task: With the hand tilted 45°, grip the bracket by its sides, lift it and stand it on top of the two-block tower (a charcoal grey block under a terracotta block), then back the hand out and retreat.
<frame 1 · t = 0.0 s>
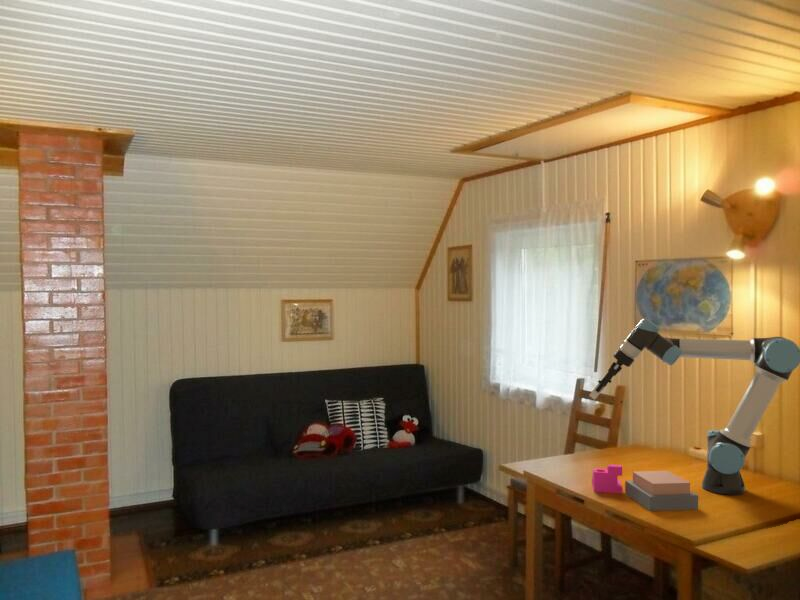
hand: (593, 395, 267), 36 cm above the table, tool tilted 35°, fingers open, 13 cm apart
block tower: (660, 501, 246), on the table
bracket: (606, 488, 263), on the table
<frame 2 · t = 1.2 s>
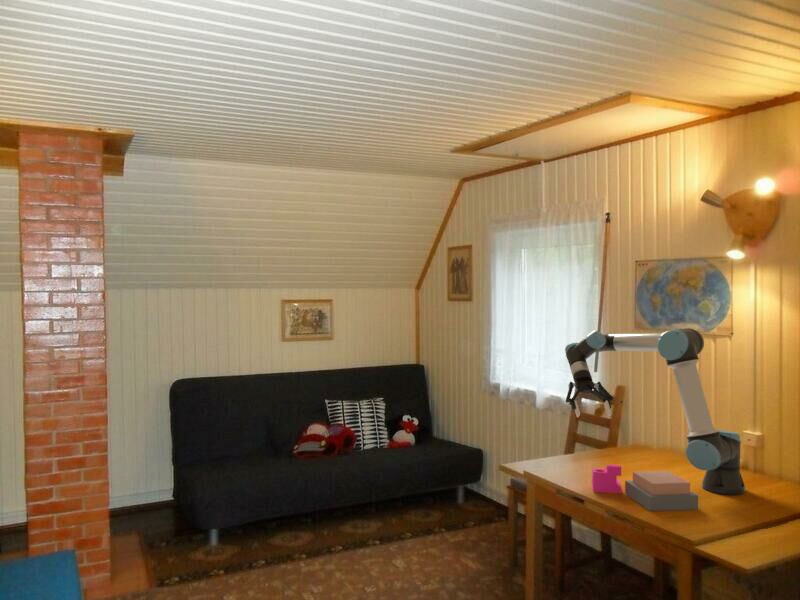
hand: (594, 415, 275), 26 cm above the table, tool tilted 45°, fingers open, 13 cm apart
nothing on the table moved.
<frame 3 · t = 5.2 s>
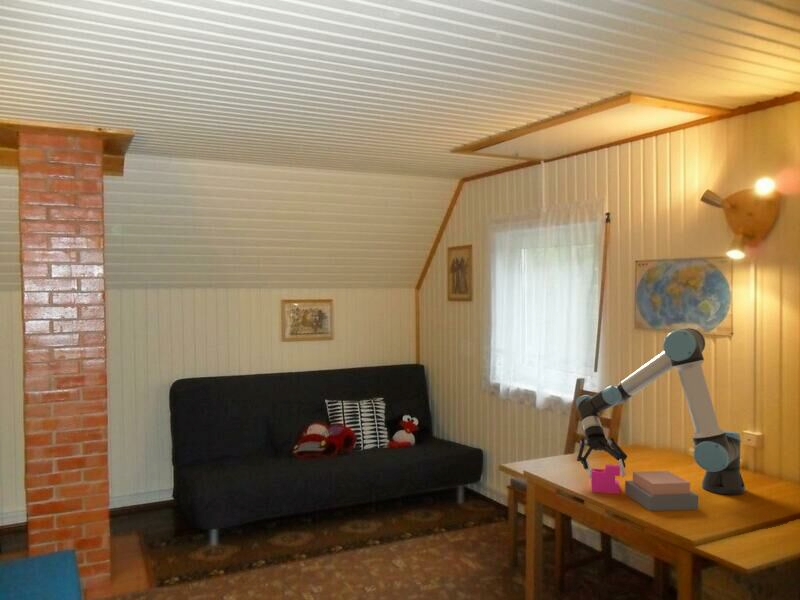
hand: (607, 475, 261), 5 cm above the table, tool tilted 45°, fingers open, 13 cm apart
nothing on the table moved.
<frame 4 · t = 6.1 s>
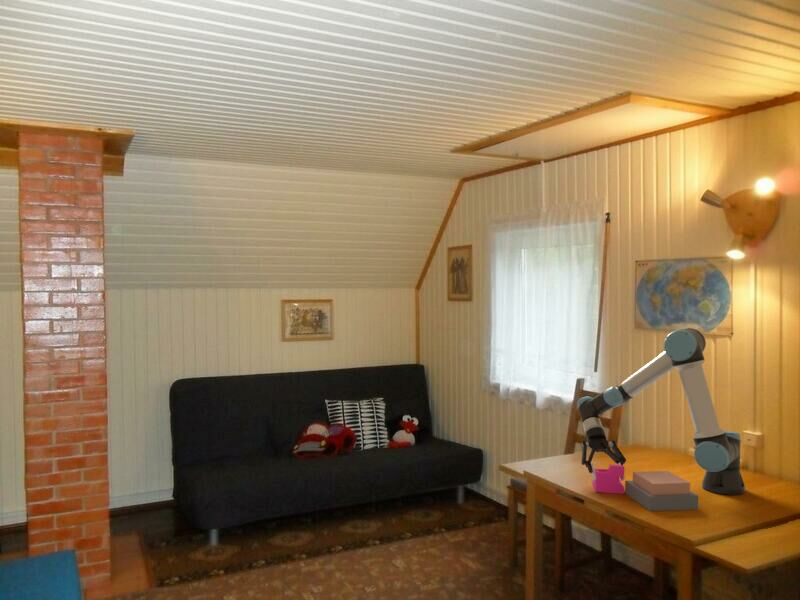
hand: (609, 479, 260), 4 cm above the table, tool tilted 45°, fingers closed on bracket, 10 cm apart
bracket: (607, 488, 262), on the table, touching gripper
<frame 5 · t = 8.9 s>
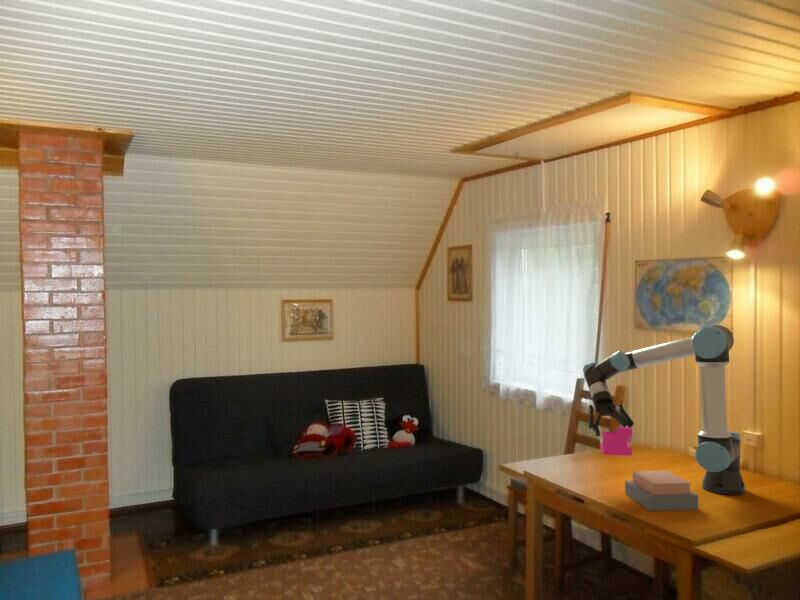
hand: (617, 442, 257), 19 cm above the table, tool tilted 45°, fingers closed on bracket, 10 cm apart
bracket: (615, 452, 259), point 15 cm above the table, touching gripper
when the fingers open (15 cm above the table, at t = 11.6 s): bracket drops 2 cm, resting on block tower.
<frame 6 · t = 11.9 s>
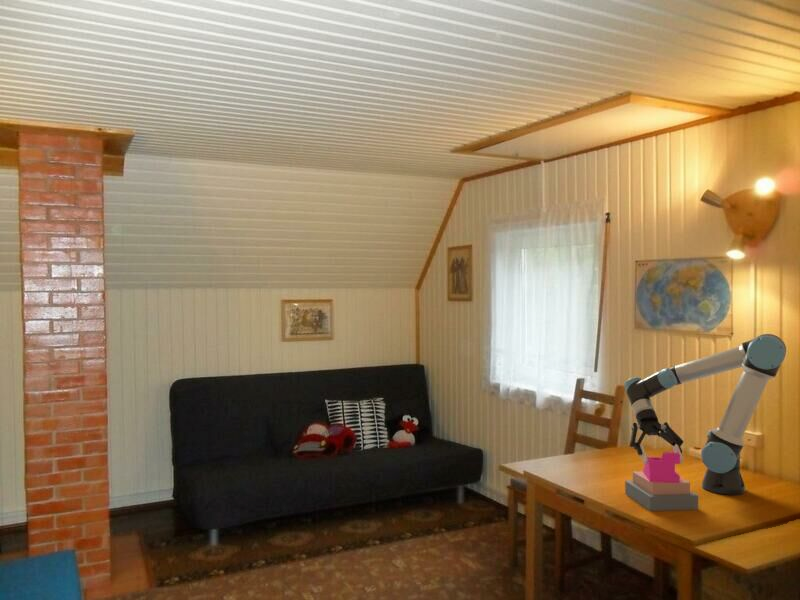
hand: (663, 462, 244), 15 cm above the table, tool tilted 45°, fingers open, 13 cm apart
bracket: (660, 478, 245), point 9 cm above the table, touching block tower
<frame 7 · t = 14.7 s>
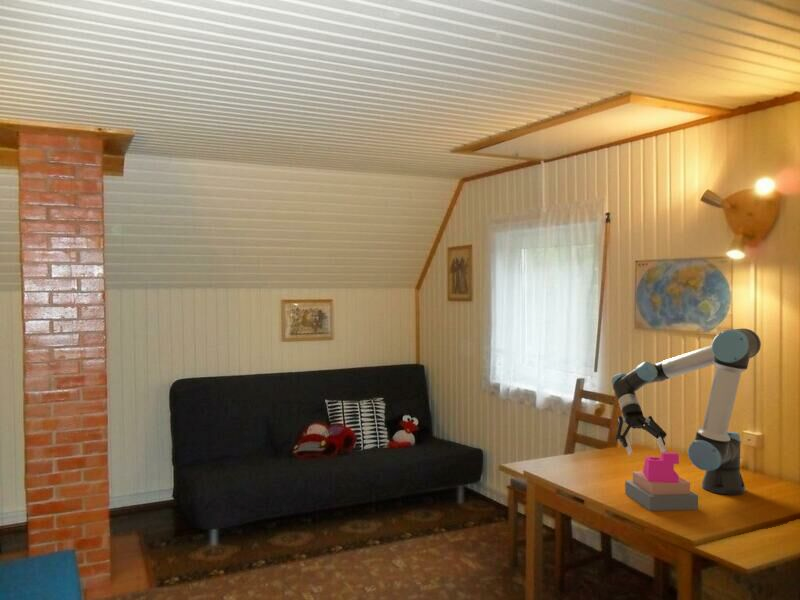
hand: (647, 453, 256), 15 cm above the table, tool tilted 45°, fingers open, 13 cm apart
nothing on the table moved.
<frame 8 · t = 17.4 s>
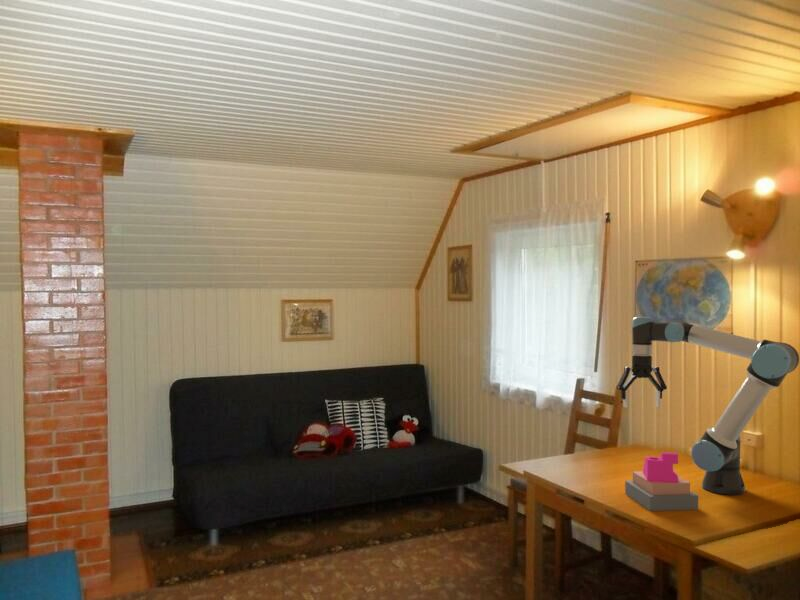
hand: (641, 407, 270), 31 cm above the table, tool pointing down, fingers open, 13 cm apart
nothing on the table moved.
at the end: bracket inside the target area on the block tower (0.9 cm from its centre), point 8.8 cm above the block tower's base; bracket tilted 0°; the gripper is holding nothing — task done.
